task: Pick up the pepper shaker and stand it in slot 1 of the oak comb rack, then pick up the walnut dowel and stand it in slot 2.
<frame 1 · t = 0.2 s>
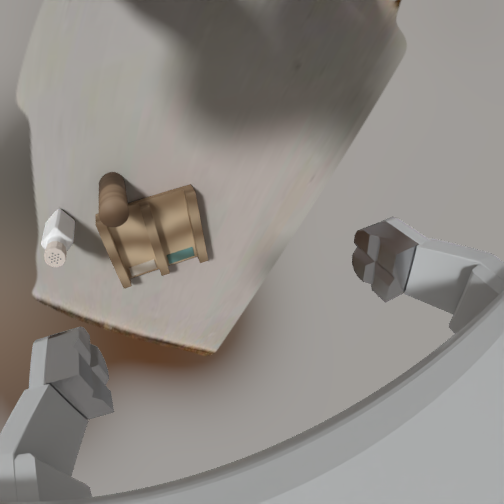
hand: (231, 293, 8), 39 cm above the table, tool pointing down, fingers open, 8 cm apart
dowel: (111, 184, 43), on the table
pepper shaker: (60, 220, 42), on the table
rack: (152, 233, 51), on the table
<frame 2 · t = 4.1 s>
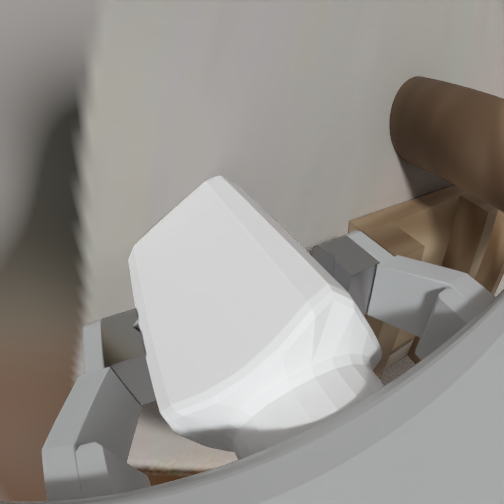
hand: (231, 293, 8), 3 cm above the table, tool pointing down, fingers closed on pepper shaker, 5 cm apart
dowel: (419, 119, 11), on the table
pepper shaker: (203, 242, 10), on the table, touching gripper
rack: (429, 279, 19), on the table
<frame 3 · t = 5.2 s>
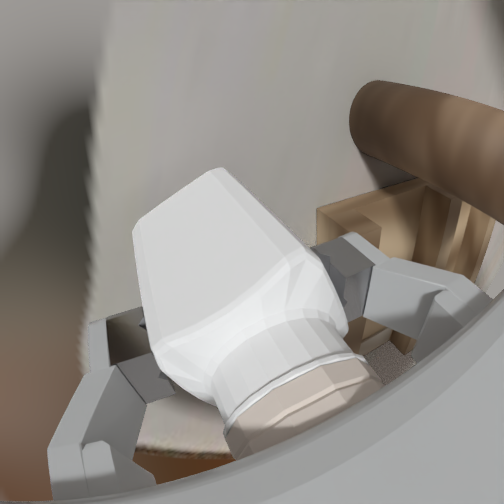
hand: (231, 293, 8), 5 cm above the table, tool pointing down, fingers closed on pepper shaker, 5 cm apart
dowel: (379, 118, 14), on the table
pepper shaker: (198, 226, 12), point 1 cm above the table, touching gripper
rack: (405, 266, 21), on the table
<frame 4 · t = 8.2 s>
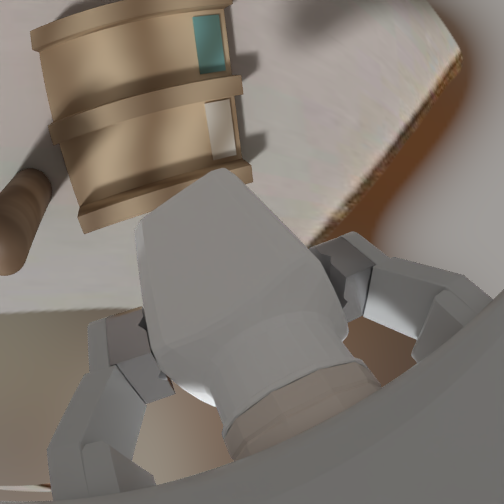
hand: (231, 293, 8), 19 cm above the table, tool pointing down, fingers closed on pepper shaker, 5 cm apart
dowel: (30, 191, 20), on the table
pepper shaker: (201, 226, 12), point 15 cm above the table, touching gripper
rack: (142, 101, 21), on the table
when the fingers open (5 cm above the table, at t = 11.0 s): pepper shaker moves 2 cm, resting on rack.
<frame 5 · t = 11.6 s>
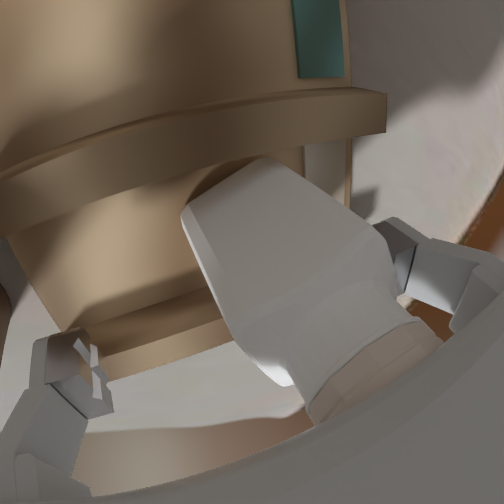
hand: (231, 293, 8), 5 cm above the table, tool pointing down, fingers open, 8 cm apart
pepper shaker: (240, 214, 12), point 1 cm above the table, touching gripper, rack
rack: (173, 127, 10), on the table
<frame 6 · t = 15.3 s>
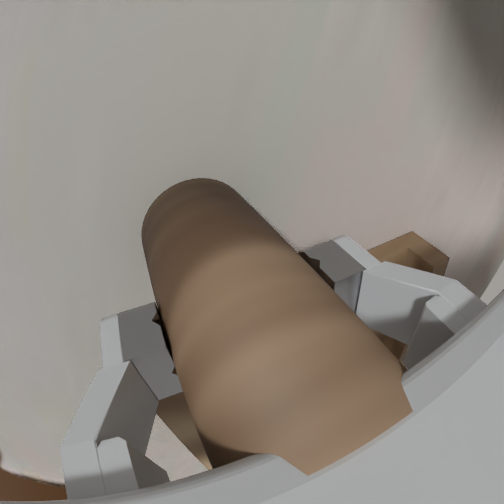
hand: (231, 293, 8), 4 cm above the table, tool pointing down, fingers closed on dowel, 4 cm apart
dowel: (196, 231, 11), on the table, touching gripper
rack: (297, 362, 19), on the table
when the fingers open (6 cm above the table, at t = 20.9 s): dowel drops 1 cm, resting on rack.
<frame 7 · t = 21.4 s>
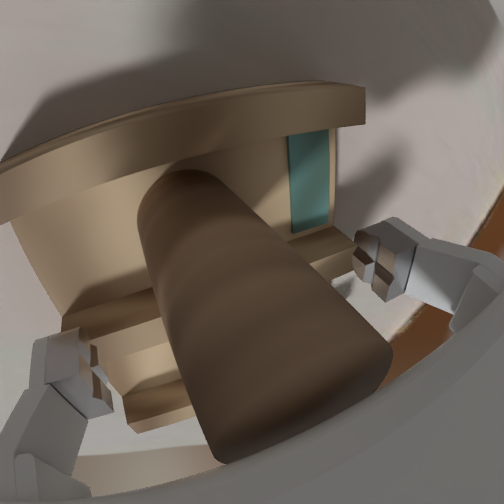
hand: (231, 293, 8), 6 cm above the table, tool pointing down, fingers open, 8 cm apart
dowel: (186, 218, 12), point 1 cm above the table, touching rack
rack: (199, 270, 15), on the table
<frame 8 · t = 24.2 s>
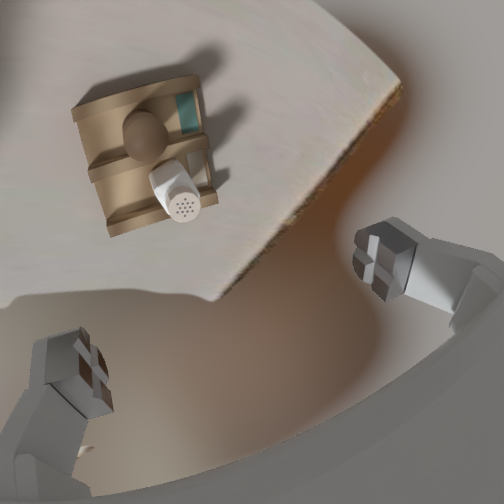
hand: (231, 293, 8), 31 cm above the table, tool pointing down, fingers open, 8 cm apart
dowel: (139, 126, 31), point 1 cm above the table, touching rack
pepper shaker: (168, 176, 36), point 1 cm above the table, touching rack
rack: (146, 151, 34), on the table
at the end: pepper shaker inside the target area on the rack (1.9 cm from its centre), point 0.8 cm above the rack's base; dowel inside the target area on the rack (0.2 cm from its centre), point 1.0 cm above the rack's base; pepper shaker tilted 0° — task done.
